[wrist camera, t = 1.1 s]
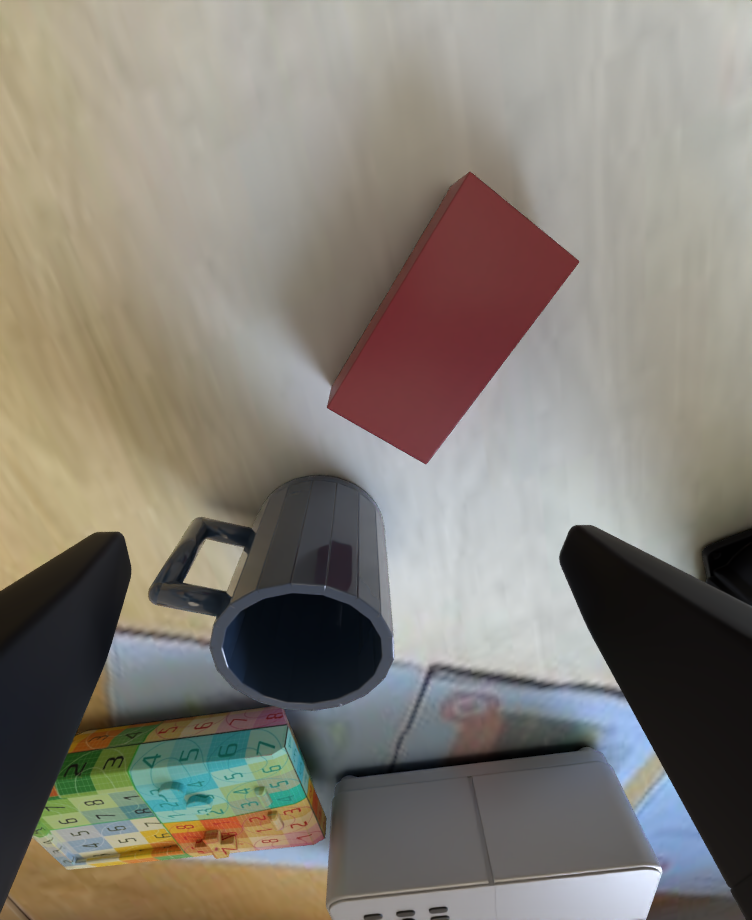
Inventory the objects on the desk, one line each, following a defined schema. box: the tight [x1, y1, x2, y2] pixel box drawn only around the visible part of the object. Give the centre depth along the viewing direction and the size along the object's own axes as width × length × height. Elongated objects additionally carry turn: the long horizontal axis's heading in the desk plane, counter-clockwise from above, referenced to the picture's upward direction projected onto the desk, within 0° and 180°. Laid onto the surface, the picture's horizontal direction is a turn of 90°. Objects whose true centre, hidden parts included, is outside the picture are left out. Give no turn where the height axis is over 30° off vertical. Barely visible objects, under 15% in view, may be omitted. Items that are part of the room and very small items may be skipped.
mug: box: [148, 475, 394, 711], centre depth 19 cm, size 10×7×8 cm
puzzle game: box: [33, 706, 327, 870], centre depth 30 cm, size 12×5×20 cm
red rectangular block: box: [327, 172, 579, 464], centre depth 17 cm, size 10×5×3 cm, turn 148°
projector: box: [326, 747, 662, 920], centre depth 33 cm, size 17×22×8 cm
